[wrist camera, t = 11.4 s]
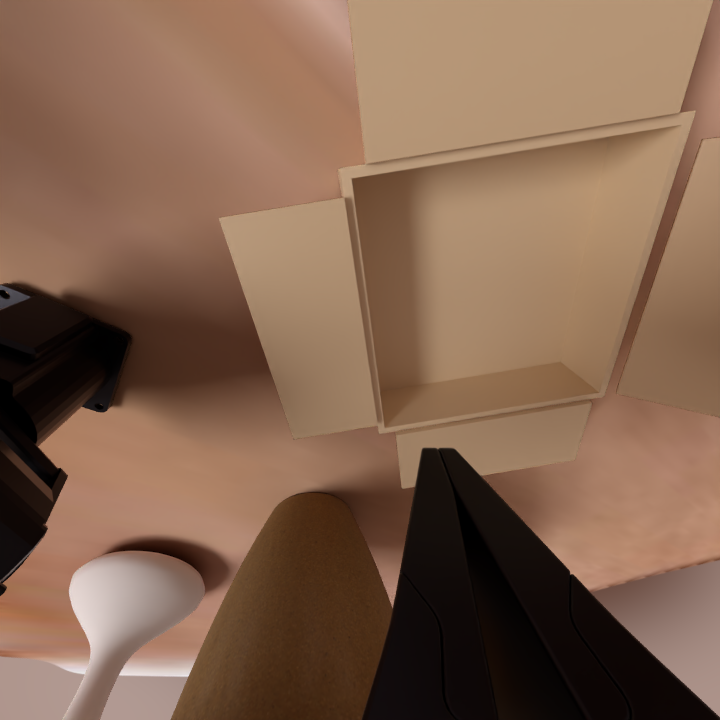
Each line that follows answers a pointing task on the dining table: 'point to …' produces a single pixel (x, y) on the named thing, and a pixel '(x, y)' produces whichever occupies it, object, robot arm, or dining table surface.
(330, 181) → the dining table surface
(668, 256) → the flap
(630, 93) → the carton
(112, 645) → the flower in vase
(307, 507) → the plant pot
